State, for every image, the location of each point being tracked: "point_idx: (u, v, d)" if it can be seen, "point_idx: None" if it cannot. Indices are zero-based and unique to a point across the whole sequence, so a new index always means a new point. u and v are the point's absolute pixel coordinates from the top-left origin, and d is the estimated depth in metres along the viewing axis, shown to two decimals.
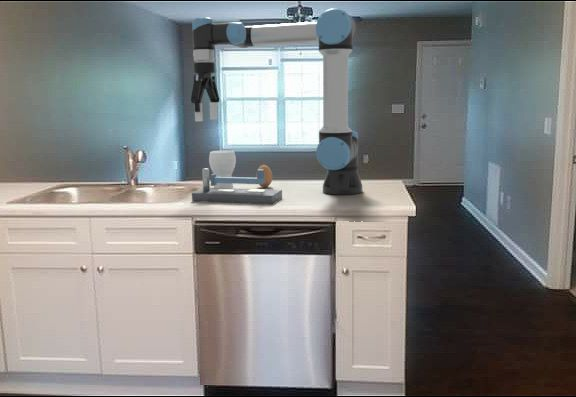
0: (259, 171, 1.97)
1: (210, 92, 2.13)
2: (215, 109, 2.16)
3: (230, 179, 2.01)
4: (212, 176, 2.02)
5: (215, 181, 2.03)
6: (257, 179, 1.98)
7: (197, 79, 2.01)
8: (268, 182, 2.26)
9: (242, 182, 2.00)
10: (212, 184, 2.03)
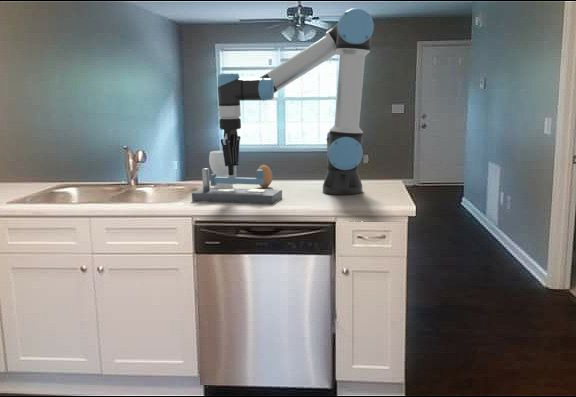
0: (258, 171, 1.96)
1: None
2: None
3: (229, 179, 2.00)
4: (212, 176, 2.02)
5: (215, 181, 2.02)
6: (256, 179, 1.97)
7: (225, 144, 1.95)
8: (268, 182, 2.26)
9: (241, 182, 1.99)
10: (212, 184, 2.03)
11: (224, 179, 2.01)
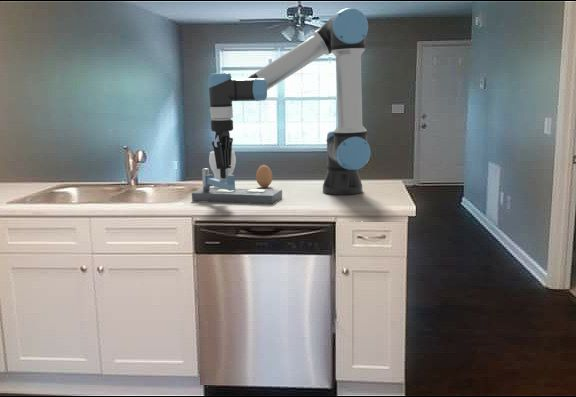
0: (227, 176, 1.86)
1: None
2: (226, 176, 1.96)
3: (214, 182, 1.96)
4: (205, 177, 2.01)
5: (208, 182, 2.01)
6: (227, 185, 1.87)
7: (216, 146, 1.89)
8: (268, 182, 2.26)
9: (220, 186, 1.92)
10: (205, 185, 2.01)
11: (212, 181, 1.97)
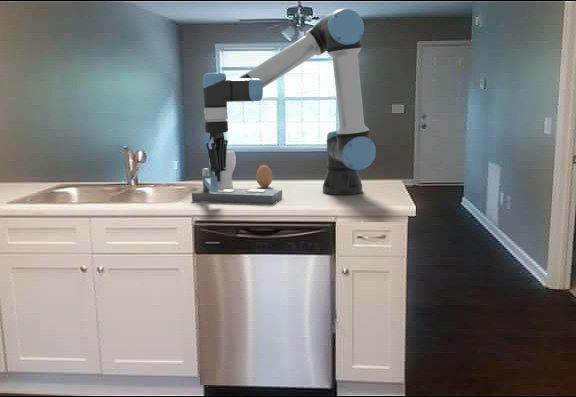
0: (210, 178, 1.84)
1: None
2: None
3: (206, 182, 1.95)
4: (203, 177, 2.01)
5: (204, 182, 2.00)
6: (210, 186, 1.85)
7: (211, 148, 1.83)
8: (268, 182, 2.26)
9: (208, 187, 1.91)
10: (203, 185, 2.01)
11: (205, 181, 1.97)
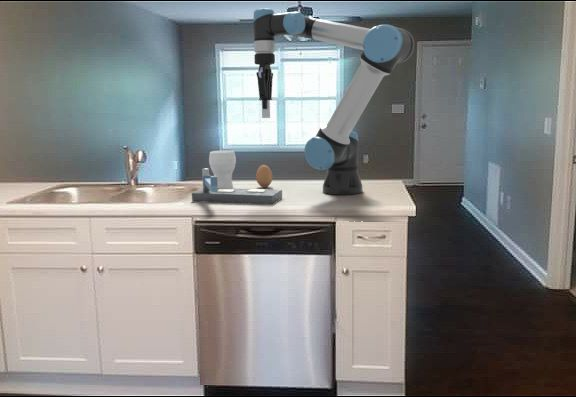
0: (210, 178, 1.84)
1: None
2: None
3: (206, 182, 1.95)
4: (203, 177, 2.01)
5: (204, 182, 2.00)
6: (210, 186, 1.85)
7: (260, 77, 2.04)
8: (268, 182, 2.26)
9: (208, 187, 1.91)
10: (203, 185, 2.01)
11: (205, 181, 1.97)
